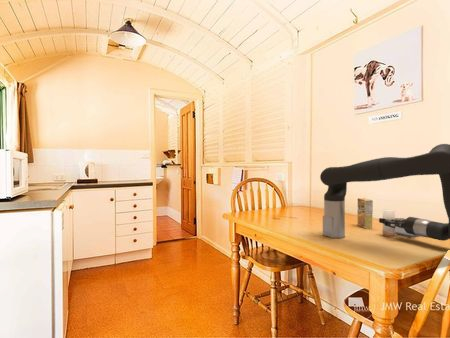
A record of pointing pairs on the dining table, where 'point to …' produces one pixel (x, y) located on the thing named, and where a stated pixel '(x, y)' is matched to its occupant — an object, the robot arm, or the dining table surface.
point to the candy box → (365, 213)
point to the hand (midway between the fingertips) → (383, 219)
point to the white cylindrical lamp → (387, 230)
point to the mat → (403, 233)
